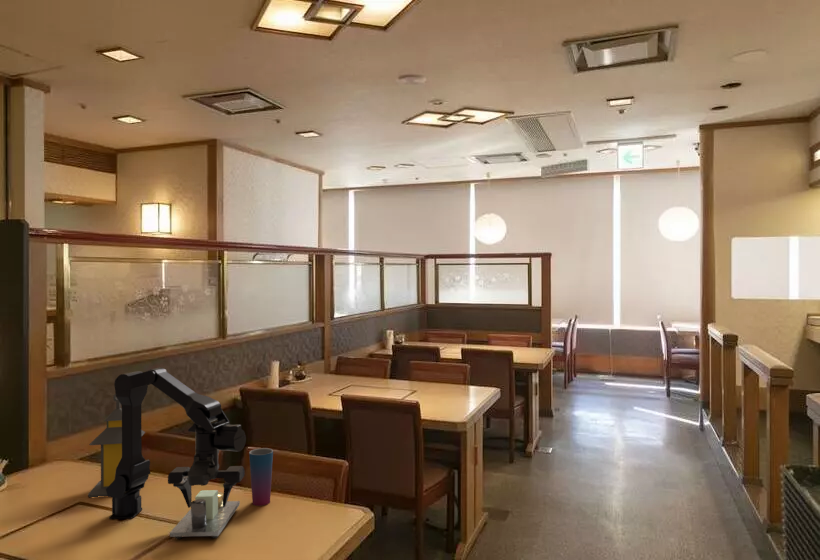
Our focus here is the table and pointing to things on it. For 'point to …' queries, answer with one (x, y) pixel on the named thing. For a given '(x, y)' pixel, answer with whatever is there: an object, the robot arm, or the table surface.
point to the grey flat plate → (212, 526)
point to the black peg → (198, 513)
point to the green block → (209, 502)
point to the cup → (261, 475)
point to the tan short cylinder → (220, 499)
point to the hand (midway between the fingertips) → (206, 506)
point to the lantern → (109, 450)
